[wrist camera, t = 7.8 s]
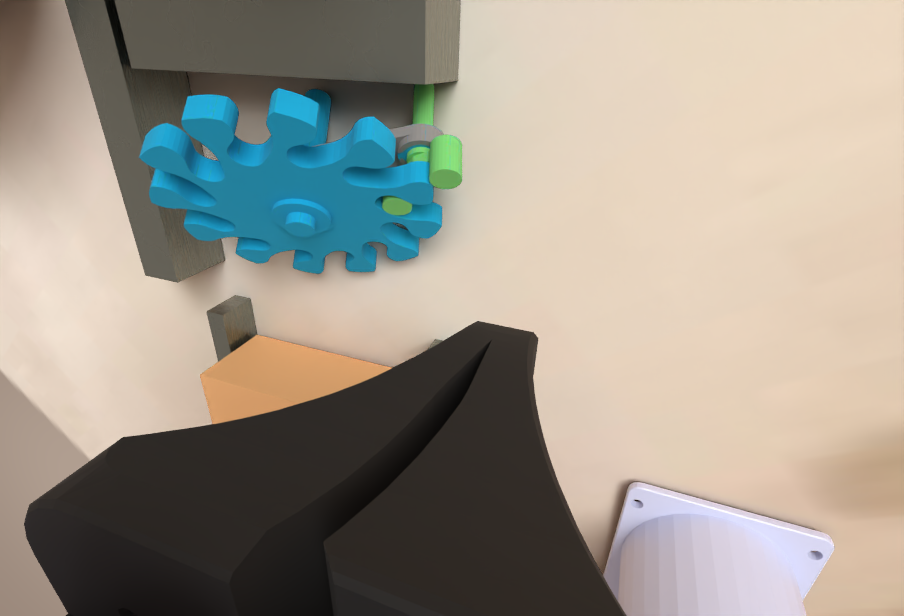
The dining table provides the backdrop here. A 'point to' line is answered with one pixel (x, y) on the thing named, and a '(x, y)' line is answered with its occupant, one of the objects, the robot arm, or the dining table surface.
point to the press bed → (236, 52)
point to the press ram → (277, 377)
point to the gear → (305, 179)
